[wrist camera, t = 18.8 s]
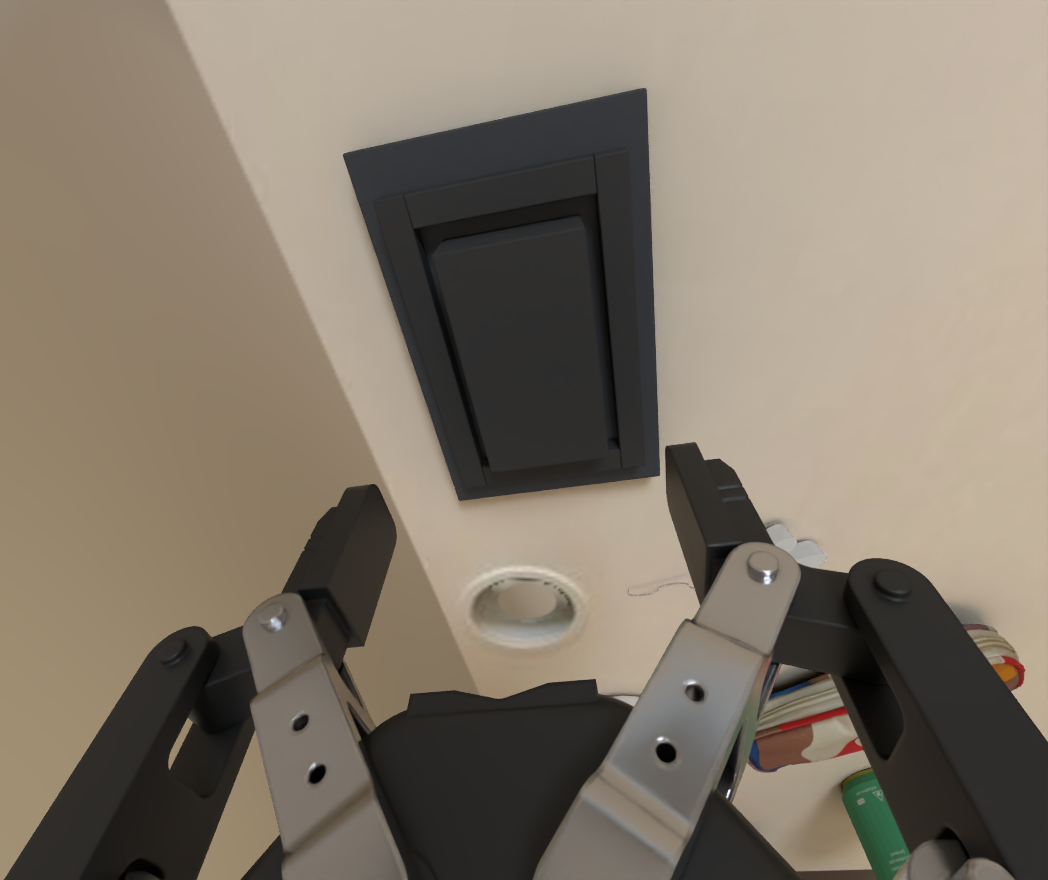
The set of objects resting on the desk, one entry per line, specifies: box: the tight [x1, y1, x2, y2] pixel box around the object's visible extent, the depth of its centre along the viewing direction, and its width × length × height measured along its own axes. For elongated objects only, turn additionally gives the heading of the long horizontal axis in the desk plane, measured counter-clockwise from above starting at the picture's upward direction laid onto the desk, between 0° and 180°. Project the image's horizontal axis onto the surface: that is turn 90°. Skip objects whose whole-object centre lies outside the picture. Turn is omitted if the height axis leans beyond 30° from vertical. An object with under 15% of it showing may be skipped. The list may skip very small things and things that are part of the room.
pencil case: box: [747, 624, 1025, 772], centre depth 36 cm, size 11×20×5 cm, turn 123°
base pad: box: [343, 88, 660, 501], centre depth 22 cm, size 17×11×2 cm, turn 10°
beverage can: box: [842, 768, 910, 880], centre depth 43 cm, size 8×8×12 cm
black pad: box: [432, 214, 609, 473], centre depth 21 cm, size 10×6×2 cm, turn 10°
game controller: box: [628, 524, 827, 596], centre depth 31 cm, size 6×12×3 cm, turn 131°
